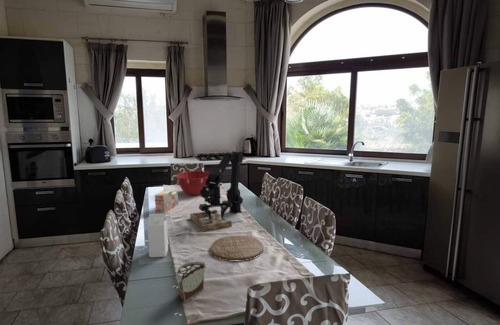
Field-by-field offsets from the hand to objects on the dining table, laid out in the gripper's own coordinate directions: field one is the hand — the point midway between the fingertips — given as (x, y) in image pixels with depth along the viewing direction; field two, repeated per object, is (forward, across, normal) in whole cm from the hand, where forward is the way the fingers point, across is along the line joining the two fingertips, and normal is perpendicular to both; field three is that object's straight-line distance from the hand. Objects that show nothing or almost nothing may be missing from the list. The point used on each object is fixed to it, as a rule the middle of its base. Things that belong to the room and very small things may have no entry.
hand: (215, 219), depth 186 cm
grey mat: (+1, -10, 0) cm, 10 cm away
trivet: (+2, +5, +41) cm, 41 cm away
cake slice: (+1, +36, +66) cm, 75 cm away
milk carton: (+1, +39, +29) cm, 49 cm away
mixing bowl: (+1, -9, -70) cm, 71 cm away
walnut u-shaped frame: (+1, +4, 0) cm, 4 cm away
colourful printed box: (+1, +20, -39) cm, 44 cm away
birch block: (+1, 0, 0) cm, 1 cm away
